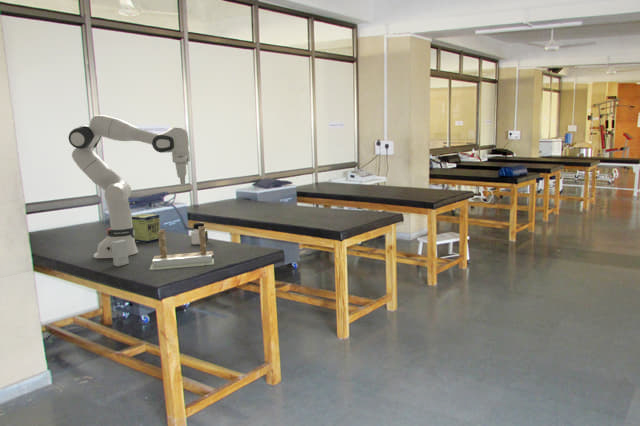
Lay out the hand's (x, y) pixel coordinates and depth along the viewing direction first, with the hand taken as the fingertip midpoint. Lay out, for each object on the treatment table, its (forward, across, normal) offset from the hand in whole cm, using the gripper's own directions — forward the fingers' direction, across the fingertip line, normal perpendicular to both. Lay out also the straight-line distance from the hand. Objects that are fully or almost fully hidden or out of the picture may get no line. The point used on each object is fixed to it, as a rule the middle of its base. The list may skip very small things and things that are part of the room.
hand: (183, 184), depth 270 cm
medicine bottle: (+37, -21, +6) cm, 43 cm away
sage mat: (+37, +27, -2) cm, 46 cm away
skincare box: (+37, +16, -32) cm, 51 cm away
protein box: (+37, -41, -26) cm, 61 cm away
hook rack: (+37, +11, -2) cm, 38 cm away
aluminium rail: (+36, +27, -1) cm, 45 cm away
